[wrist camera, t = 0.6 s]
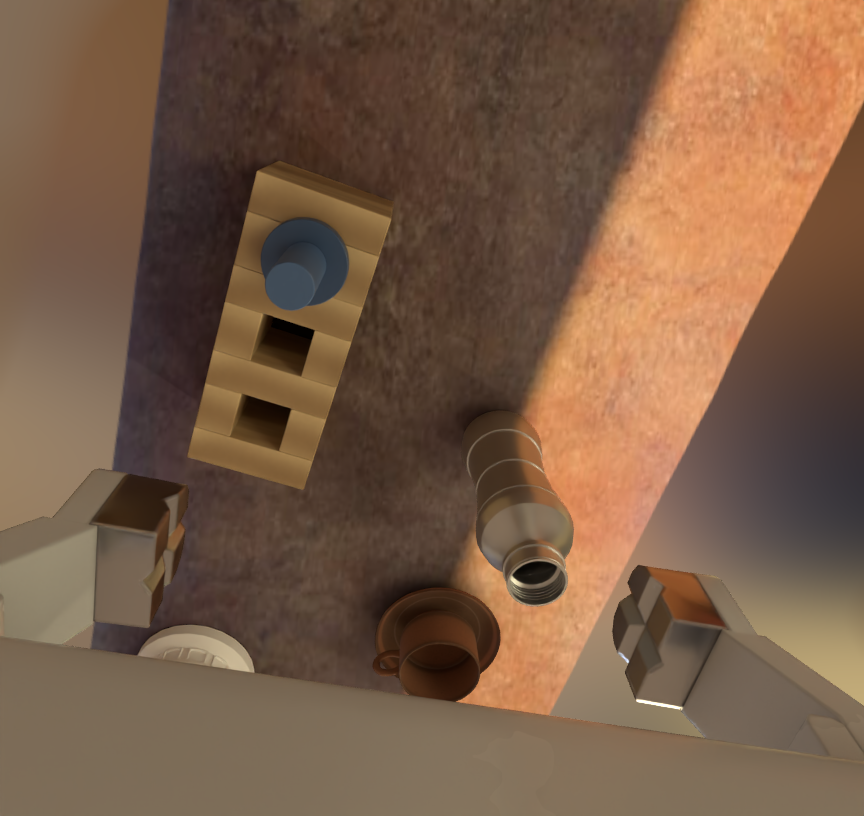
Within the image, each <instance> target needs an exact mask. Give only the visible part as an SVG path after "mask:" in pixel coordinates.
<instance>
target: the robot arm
mask: <svg viewBox="0 0 864 816" xmlns="http://www.w3.org/2000/svg"><path fill="white" fill-rule="evenodd" d="M188 498H189V489H188V485H184V484H179V483H174V482H169V481H164V480H159V479H154V478H148V477H143V476H138V475H133V474H127V473H124V472H118V471H112V470H105V469H95V470H93V471H92V472H91V473H90V474H89V476H88V477H87V478H86V479H85V480H84V481H83V483H82V484H81V485H80V486H79V487H78V488H77V490H76V491H75V492H74V493H73V494H72V495H71V497H70V498H69V499H68V500H67V501H66V502H65V504H64V505H63V506H62V507H61V508H60V509H59V511H58V512H57V513H56V514H55V515H54V516H53V518H48V517H40V518H37V519H35V520H32V521H29V522H26V523H23V524H21V525H17V526H15V527H12V528H9V529H6V530H3V531H0V816H864V706H863V705H862V704H860V703H859V702H857V701H856V700H855V699H853V698H852V697H850V696H849V695H848V694H846V693H845V692H843V691H842V690H840V689H839V688H838V687H836V686H835V685H833V684H832V683H830V682H829V681H827V680H826V679H825V678H823V677H822V676H820V675H819V674H818V673H816V672H815V671H814V670H812V669H810V668H809V667H808V666H807V665H805V664H804V663H802V662H801V661H799V660H798V659H797V658H795V657H794V656H792V655H791V654H790V653H788V652H787V651H785V650H784V649H782V648H781V647H780V646H778V645H777V644H775V643H774V642H772V641H771V640H770V639H768V638H767V637H765V636H759V635H757V633H756V632H755V630H754V629H753V627H752V626H751V625H750V623H749V621H748V620H747V618H746V617H745V615H744V614H743V612H742V611H741V609H740V608H739V606H738V605H737V603H736V602H735V600H734V599H733V597H732V596H731V594H730V592H729V591H728V589H727V588H726V586H725V585H724V583H723V582H722V580H720V579H719V578H717V577H716V576H711V575H704V574H696V573H688V572H680V571H673V570H668V569H661V568H654V567H648V566H641V565H638V566H637V567H636V568H635V569H634V570H633V571H632V574H631V576H630V578H629V581H628V585H629V588H630V591H631V594H630V595H629V596H627V597H626V598H624V599H623V600H622V601H620V602H619V604H618V607H617V610H616V612H615V615H614V621H613V631H612V632H613V639H614V644H615V647H616V650H617V653H618V654H619V655H620V656H621V657H622V658H623V659H624V660H626V661H627V662H628V666H627V668H626V671H625V674H626V677H627V679H628V682H629V685H630V687H631V690H632V692H633V695H634V697H635V700H636V701H637V702H643V703H648V704H654V705H659V706H665V707H671V708H676V709H682V711H681V712H682V713H683V714H684V715H685V716H686V717H687V719H688V720H689V721H690V722H691V723H692V724H693V725H694V726H695V727H696V728H697V729H698V730H699V732H700V733H701V734H702V735H703V736H704V737H705V738H701V737H694V736H687V735H680V734H672V733H666V732H659V731H652V730H645V729H638V728H632V727H625V726H617V725H611V724H603V723H597V722H590V721H583V720H576V719H570V718H563V717H556V716H549V715H542V714H535V713H528V712H521V711H514V710H507V709H501V708H494V707H487V706H480V705H473V704H466V703H459V702H452V701H446V700H439V699H432V698H425V697H418V696H411V695H404V694H397V693H391V692H384V691H377V690H370V689H363V688H356V687H349V686H342V685H336V684H329V683H322V682H315V681H308V680H301V679H294V678H287V677H280V676H274V675H267V674H260V673H253V672H246V671H239V670H232V669H225V668H219V667H212V666H205V665H198V664H191V663H184V662H177V661H170V660H164V659H157V658H150V657H143V656H136V655H129V654H122V653H115V652H109V651H102V650H95V649H88V648H81V647H74V646H67V645H62V644H63V643H65V642H66V641H68V640H69V639H71V638H73V637H74V636H76V635H77V634H79V633H80V632H82V631H83V630H85V629H86V628H88V627H89V626H91V625H92V624H93V621H95V622H103V623H111V624H120V625H128V626H136V627H144V628H149V626H150V624H151V622H152V620H153V618H154V616H155V614H156V612H157V610H158V608H159V606H160V604H161V602H162V599H163V589H164V586H166V585H167V584H169V583H171V582H172V579H173V577H174V575H175V573H176V571H177V568H178V564H179V561H180V558H181V555H182V550H183V545H184V538H185V530H186V529H185V527H184V526H183V524H182V523H181V519H182V517H183V515H184V514H185V512H186V510H187V508H188Z"/></svg>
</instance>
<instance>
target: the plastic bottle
mask: <svg viewBox="0 0 864 816" xmlns="http://www.w3.org/2000/svg"><path fill="white" fill-rule="evenodd" d="M461 457H462V461H463V463H464V465H465V467H466V470H467V472H468V473H469V475H470V476H471V478H472V480H473V483H474V486H475V489H476V497H477V520H476V538H477V544H478V546H479V548H480V551H481V552H482V553H483V555H484V556H485V557H486V559H487V560H488V561H489V563H490V564H491V565H492V566H493V567H495V568H496V569H498V570H499V571H501V572H503V576H504V579H505V581H506V584H507V589H508V591H509V593H510V595H511V596H512V597H513V598H514V599H515V600H516V601H517V602H519V603H521V604H524V605H527V606H544V605H547V604H550V603H552V602H554V601H556V600H557V599H559V598H560V597H561V596H562V595H563V593H564V592H565V590H566V588H567V584H568V576H567V572H566V565H565V560H564V559H565V558H566V557H567V555H568V554H569V552H570V549H571V547H572V542H573V534H574V527H573V521H572V518H571V515H570V514H569V512H568V510H567V508H566V506H565V505H564V503H563V502H562V501H561V499H560V498H559V497H558V495H557V494H556V492H555V491H554V490H553V488H552V487H551V484H550V482H549V480H548V479H547V477H546V474H545V472H544V467H543V463H542V448H541V441H540V438H539V435H538V433H537V432H536V430H535V429H534V427H533V426H532V425H531V424H530V423H529V422H528V421H527V420H526V419H525V418H523V417H522V416H520V415H519V414H516V413H514V412H510V411H505V410H497V411H490V412H487V413H484V414H482V415H480V416H478V417H477V418H476V419H474V420H473V421H472V422H471V423H470V424H469V425H468V427H467V428H466V430H465V432H464V435H463V438H462V444H461Z"/></svg>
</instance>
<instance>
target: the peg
mask: <svg viewBox="0 0 864 816" xmlns="http://www.w3.org/2000/svg"><path fill="white" fill-rule="evenodd" d="M261 268H262V273H263V275H264V278H265V290H266V293H267V295H268V297H269V299H270V300H271V301H272V302H273V303H274V304H275V305H276V306H277V307H279V308H281V309H284V310H289V311H294V310H299V309H302V308H304V307H305V306H314V305H319V304H322V303H324V302H327V301H328V300H330V299H332V298H333V297H334V296H335V295H336V294H337V293H338V292H339V291H340V290H341V288H342V287H343V285H344V283H345V280H346V278H347V275H348V271H349V254H348V250H347V247H346V245H345V243H344V241H343V239H342V238H341V236H340V235H339V234H338V232H337V231H336V230H335V229H333V228H332V227H331V226H330V225H328V224H326V223H325V222H323V221H320V220H318V219H315V218H310V217H297V218H292V219H289V220H287V221H284V222H283V223H281V224H279V225H278V226H277V227H276V228H275V229H274V230H273V231H272V232H271V233H270V234H269V235H268V237H267V238H266V240H265V242H264V244H263V247H262V251H261Z"/></svg>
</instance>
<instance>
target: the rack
mask: <svg viewBox="0 0 864 816" xmlns="http://www.w3.org/2000/svg"><path fill="white" fill-rule="evenodd" d="M393 204H394V202H393V201H390V200H387V199H384V198H381V197H379V196H376V195H373V194H370V193H368V192H365V191H362V190H359V189H357V188H354V187H351V186H348V185H346V184H343V183H340V182H337V181H334V180H332V179H329V178H326V177H323V176H321V175H318V174H315V173H312V172H310V171H307V170H304V169H301V168H299V167H296V166H293V165H290V164H287V163H285V162H282V161H277V162H275V163H273V164H271V165H269V166H266V167H264V168H262V169H260V170H258V171H257V172H256V176H255V180H254V184H253V189H252V193H251V197H250V201H249V205H248V211H247V213H246V217H245V221H244V225H243V230H242V234H241V238H240V242H239V246H238V250H237V254H236V258H235V262H234V266H233V270H232V274H231V278H230V283H229V287H228V291H227V295H226V299H225V303H224V307H223V311H222V316H221V320H220V324H219V328H218V332H217V336H216V340H215V344H214V350H213V353H212V357H211V361H210V365H209V369H208V373H207V377H206V381H205V382H206V383H205V386H204V390H203V394H202V398H201V402H200V406H199V410H198V414H197V418H196V423H195V427H194V430H193V434H192V439H191V443H190V447H189V451H188V455H187V457H190V458H193V459H197V460H200V461H204V462H207V463H211V464H214V465H218V466H221V467H225V468H228V469H232V470H235V471H239V472H243V473H246V474H250V475H253V476H257V477H260V478H264V479H267V480H271V481H274V482H278V483H281V484H285V485H288V486H292V487H295V488H299V489H302V490H303V489H304V487H305V483H306V480H307V477H308V474H309V471H310V468H311V465H312V462H313V459H314V456H315V453H316V450H317V446H318V443H319V440H320V437H321V434H322V431H323V428H324V425H325V422H326V418H327V416H328V413H329V410H330V406H331V403H332V400H333V397H334V394H335V391H336V388H337V385H338V382H339V379H340V376H341V373H342V370H343V366H344V363H345V360H346V357H347V354H348V351H349V348H350V345H351V342H352V339H353V336H354V333H355V329H356V326H357V323H358V320H359V317H360V314H361V311H362V308H363V305H364V302H365V299H366V296H367V293H368V289H369V286H370V283H371V280H372V277H373V274H374V271H375V268H376V265H377V262H378V259H379V255H380V252H381V249H382V246H383V243H384V240H385V237H386V234H387V231H388V228H389V225H390V222H391V217H392V210H393ZM297 217H310V218H315V219H318V220H320V221H323V222H325V223H326V224H328V225H330V226H331V227H332V228H333V229H335V230H336V231H337V232H338V234H339V235H340V236H341V238H342V239H343V241H344V243H345V245H346V247H347V250H348V254H349V271H348V275H347V278H346V280H345V283H344V285H343V287H342V288H341V290H340V291H339V292H338V293H337V294H336V295H335V296H334V297H333V298H332V299H330V300H328V301H327V302H324V303H322V304H319V305H314V306H305V307H304V308H302V309H299V310H294V311H289V310H284V309H281V308H279V307H277V306H276V305H275V304H274V303H273V302H272V301H271V300H270V299H269V297H268V295H267V293H266V290H265V278H264V275H263V273H262V268H261V251H262V247H263V244H264V242H265V240H266V238H267V237H268V235H269V234H270V233H271V232H272V231H273V230H274V229H275V228H276V227H277V226H278V225H279V224H281V223H283V222H284V221H287V220H289V219H292V218H297ZM274 317H276V318H279V319H282V320H286V321H289V322H292V323H295V324H298V325H301V326H304V327H307V328H310V329H313V330H315V331H314V335H313V338H312V340H310V339H307V338H304V337H301V336H298V335H294V334H291V333H288V332H285V331H282V330H279V329H276V328H273V327H271V325H272V322H273V318H274Z"/></svg>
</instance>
